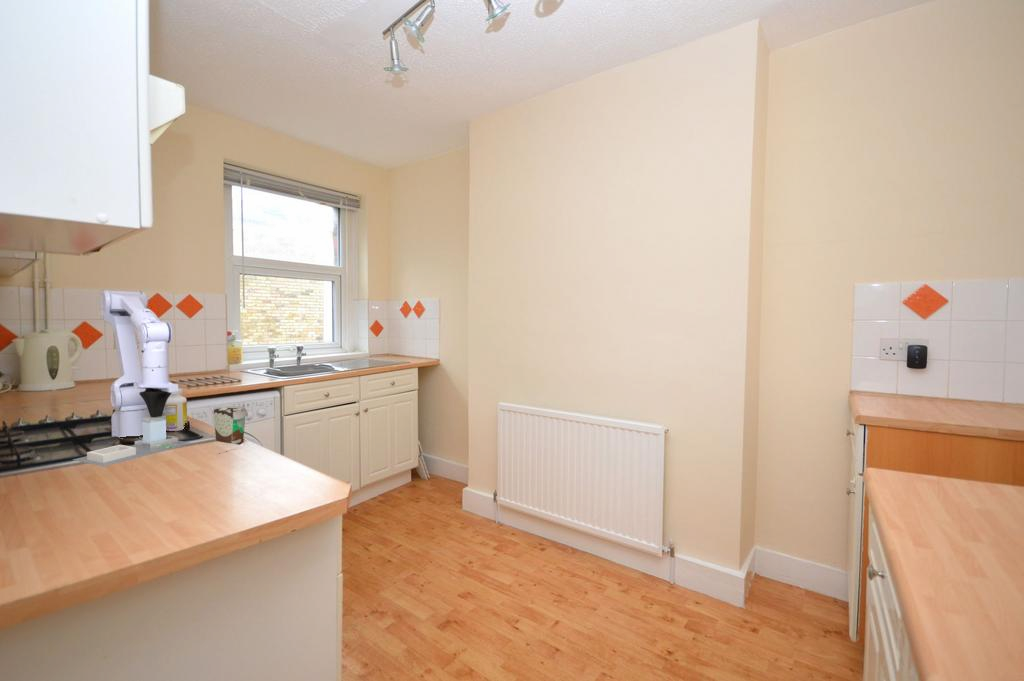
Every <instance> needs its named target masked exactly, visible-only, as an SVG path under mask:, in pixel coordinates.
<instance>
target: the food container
mask: <svg viewBox="0 0 1024 681" xmlns="http://www.w3.org/2000/svg"><path fill="white" fill-rule="evenodd" d="M212 415H213V427H214V441H215V442H219V443H220V442H221V443H224V444H225V443H226V444H232V445H238V446H240V445H242V444H244V438H245V437H244V436H245V425H246V424H245V423H246V417H248V416H249V414H248V410H247V408H246V407H245V406H241V405H220V406H213V407H212Z"/></svg>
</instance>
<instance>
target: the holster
mask: <svg viewBox="0 0 1024 681" xmlns="http://www.w3.org/2000/svg"><path fill="white" fill-rule="evenodd" d="M130 446H131V445H123V444H117V445H113V446H109V447H105V448H99V449H96V450H90V451H87V452H86V456H87V460H92V461H97V462H102V463H105V462H108V461H112V460H116V459H120V458H124V457H128V456H132V455H136V447H130Z"/></svg>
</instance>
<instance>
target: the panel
mask: <svg viewBox="0 0 1024 681" xmlns="http://www.w3.org/2000/svg"><path fill="white" fill-rule="evenodd" d="M192 444H193V442H189V441H183V440H178V444H175V445H171V448H166V447H163V448H159V449H155V450H151V451H149V450H144V449H138V448H136V455H132V456H128V457H124V458H120V459H116V460H112V461H108V462H105V463H102V462H97V461H92V460H87V455H86V456H82V457H78V458H73V459H72V461H75V462H76V461H77V462H81V463H86V464H91V465H94V466H95V465H96V466H99V467H108V466H112V465H115V464H119V463H123V462H127V461H130V460H134V459H139V458H141V457H142V458H143V457H145V456H149V455H153V454H157V453H161V452H164V451H169V450H171V449H176V448H180V447H185V446H187V445H192ZM129 446H130V447H135V444H133V445H129Z"/></svg>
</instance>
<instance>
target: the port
mask: <svg viewBox="0 0 1024 681" xmlns="http://www.w3.org/2000/svg"><path fill="white" fill-rule="evenodd" d="M178 441H179V437H178V436H173V435H167V434H166V439H165V440H161V441H157V442H153V443H150V442H144V441H143V438H142V439H139V440H134V445H135V447H136V448H138V449H144V450H149V451H151V450H155V449H159V448H163V447H166V448H171V445H175V444H178Z"/></svg>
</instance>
